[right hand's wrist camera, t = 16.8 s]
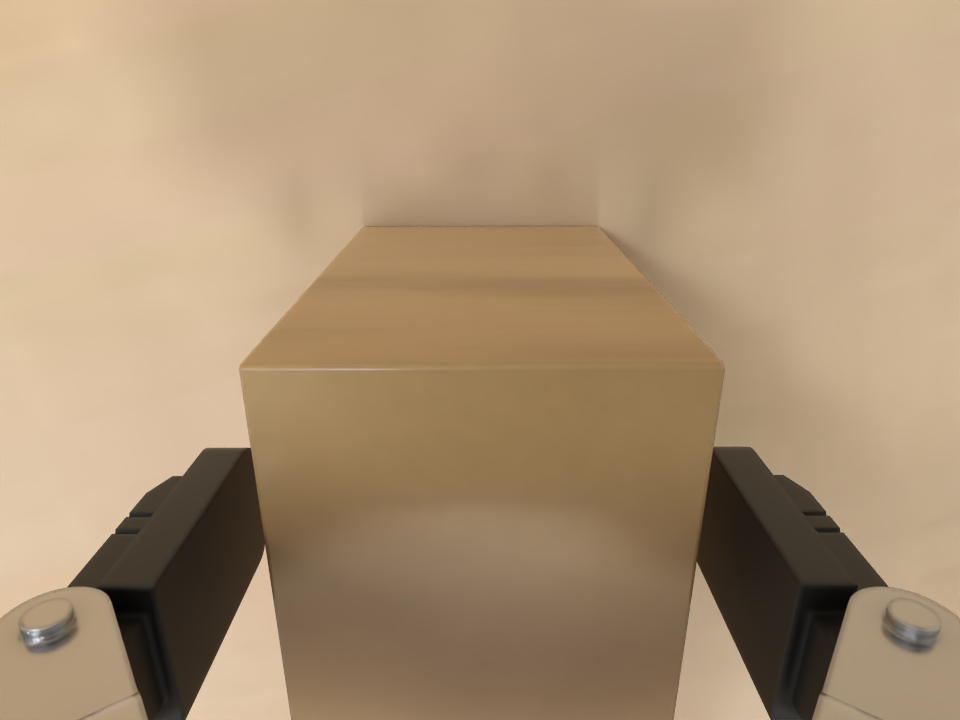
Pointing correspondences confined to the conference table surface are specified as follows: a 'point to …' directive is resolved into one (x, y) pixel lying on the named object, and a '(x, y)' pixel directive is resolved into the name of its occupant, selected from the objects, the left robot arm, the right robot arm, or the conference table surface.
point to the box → (482, 478)
